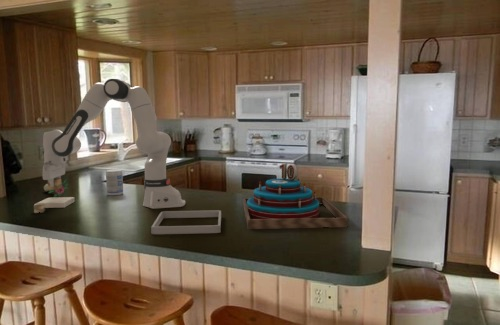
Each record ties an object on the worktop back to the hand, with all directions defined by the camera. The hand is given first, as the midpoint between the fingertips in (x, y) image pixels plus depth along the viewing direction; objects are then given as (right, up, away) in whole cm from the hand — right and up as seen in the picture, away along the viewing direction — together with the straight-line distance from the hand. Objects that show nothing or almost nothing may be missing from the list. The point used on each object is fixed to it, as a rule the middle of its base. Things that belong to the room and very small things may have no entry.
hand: (55, 185), depth 210 cm
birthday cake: (+121, -13, -19) cm, 123 cm away
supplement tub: (+23, -7, +28) cm, 37 cm away
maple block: (-1, -12, -14) cm, 18 cm away
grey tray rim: (+78, -15, -38) cm, 88 cm away
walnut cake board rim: (+124, -13, -22) cm, 126 cm away
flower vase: (-13, -8, +26) cm, 29 cm away
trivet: (0, -10, +1) cm, 10 cm away
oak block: (0, -2, 0) cm, 2 cm away
